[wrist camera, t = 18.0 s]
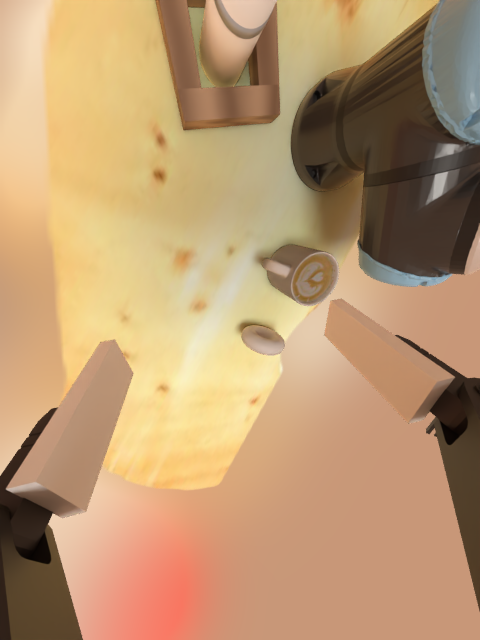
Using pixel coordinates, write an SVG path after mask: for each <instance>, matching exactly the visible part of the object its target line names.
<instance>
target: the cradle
mask: <svg viewBox="0 0 480 640" xmlns="http://www.w3.org/2000/svg"><path fill="white" fill-rule="evenodd" d="M205 4H206V0H156V5H157V9H158V14H159V19H160V23H161V28H162V33H163V37H164V42H165V47H166V51H167V56H168V61H169V65H170V70H171V75H172V79H173V84H174V89H175V93H176V98H177V103H178V107H179V112H180V117H181V121H182V126H183V130H190V129H201V128H213V127H225V126H237V125H249V124H261V123H271V122H272V121H273V120H274V119H276V118H277V117H278V116H279V115H280V98H279V66H278V34H277V2H276V4H275V6H274V8H273V11H272V13H271V15H270V17H269V19H268V21H267V23H266V25H265V27H264V29H263V30H262V32H261V34H260V36H259V39H258V41H257V43H256V45H255V47H254V49H253V51H252V53H251V55H250V57H249V59H248V61H249V73H250V85H251V86H234V87H212V88H201V83H200V77H199V71H198V65H197V59H196V53H195V47H194V41H193V35H192V29H191V23H190V17H189V11H188V7H205Z"/></svg>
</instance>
